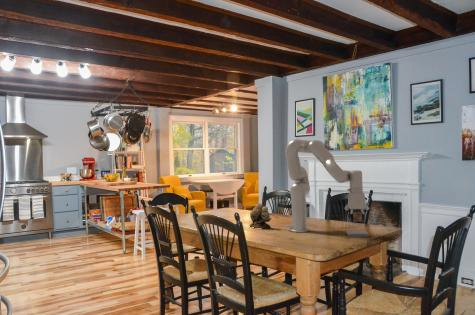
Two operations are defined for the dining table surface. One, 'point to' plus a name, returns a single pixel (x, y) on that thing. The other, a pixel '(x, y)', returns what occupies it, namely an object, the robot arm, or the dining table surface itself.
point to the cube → (357, 217)
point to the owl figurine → (260, 217)
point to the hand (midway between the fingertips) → (357, 220)
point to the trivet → (357, 234)
